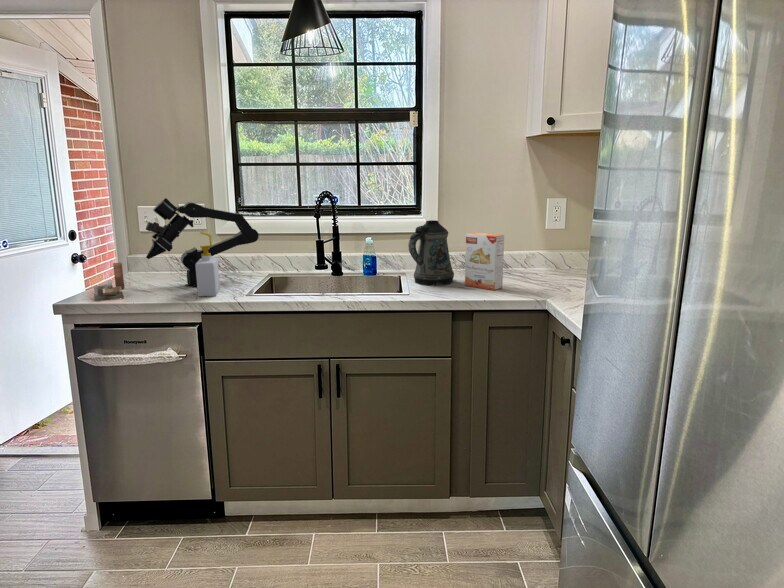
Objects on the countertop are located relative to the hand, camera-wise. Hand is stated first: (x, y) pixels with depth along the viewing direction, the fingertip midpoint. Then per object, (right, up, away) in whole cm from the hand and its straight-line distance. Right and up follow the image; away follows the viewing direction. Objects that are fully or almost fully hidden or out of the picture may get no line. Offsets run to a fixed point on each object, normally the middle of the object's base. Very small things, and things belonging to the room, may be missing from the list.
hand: (147, 258), depth 222 cm
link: (-9, -13, -7) cm, 17 cm away
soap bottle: (+26, -14, -4) cm, 30 cm away
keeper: (-12, -14, -10) cm, 21 cm away
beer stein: (+112, -9, +12) cm, 113 cm away
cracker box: (+131, -11, +2) cm, 131 cm away
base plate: (-10, -15, -10) cm, 20 cm away
